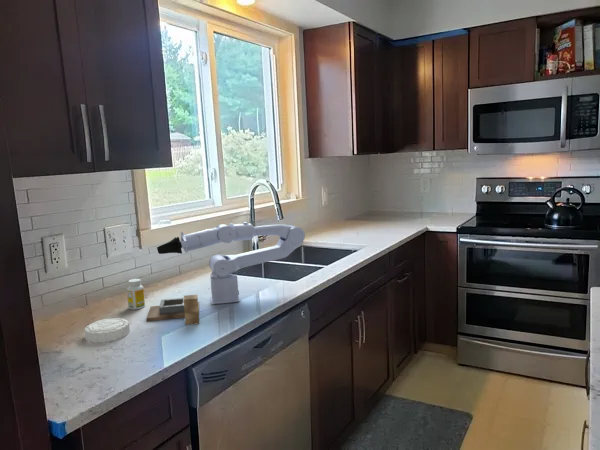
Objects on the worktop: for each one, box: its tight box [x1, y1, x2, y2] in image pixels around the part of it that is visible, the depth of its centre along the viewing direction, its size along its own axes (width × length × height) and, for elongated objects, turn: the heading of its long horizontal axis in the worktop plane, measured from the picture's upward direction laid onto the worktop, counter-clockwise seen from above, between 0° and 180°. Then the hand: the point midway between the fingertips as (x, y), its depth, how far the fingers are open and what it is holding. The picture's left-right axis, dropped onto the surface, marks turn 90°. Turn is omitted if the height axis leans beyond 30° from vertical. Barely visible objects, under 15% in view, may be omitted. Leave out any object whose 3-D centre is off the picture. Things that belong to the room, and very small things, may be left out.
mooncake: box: [83, 317, 131, 344], centre depth 135 cm, size 12×12×4 cm
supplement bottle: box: [126, 278, 146, 310], centre depth 158 cm, size 5×5×10 cm
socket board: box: [146, 297, 200, 322], centre depth 152 cm, size 16×12×4 cm
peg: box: [183, 294, 200, 326], centre depth 142 cm, size 4×4×8 cm
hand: (157, 250), depth 153 cm, fingers open, 7 cm apart
